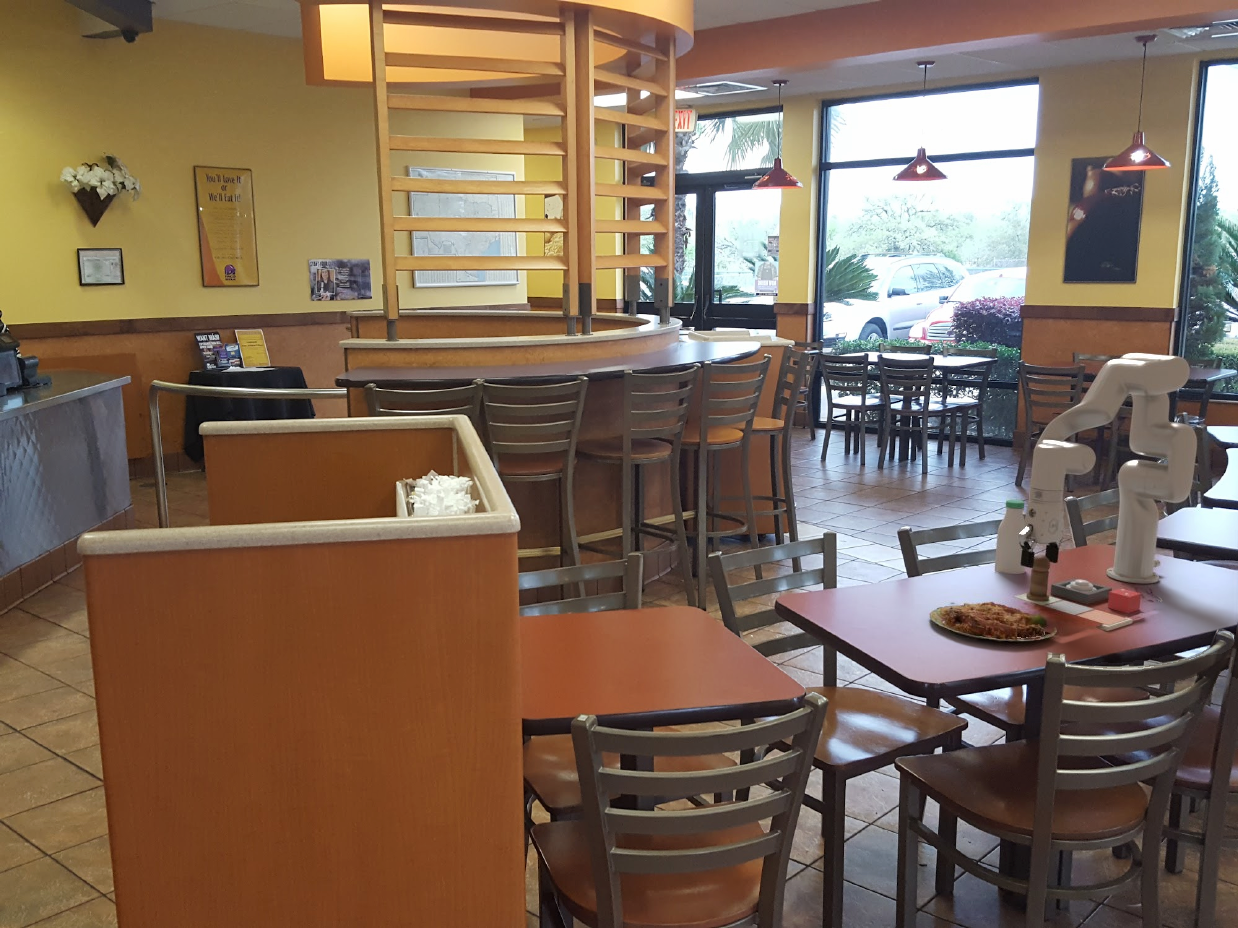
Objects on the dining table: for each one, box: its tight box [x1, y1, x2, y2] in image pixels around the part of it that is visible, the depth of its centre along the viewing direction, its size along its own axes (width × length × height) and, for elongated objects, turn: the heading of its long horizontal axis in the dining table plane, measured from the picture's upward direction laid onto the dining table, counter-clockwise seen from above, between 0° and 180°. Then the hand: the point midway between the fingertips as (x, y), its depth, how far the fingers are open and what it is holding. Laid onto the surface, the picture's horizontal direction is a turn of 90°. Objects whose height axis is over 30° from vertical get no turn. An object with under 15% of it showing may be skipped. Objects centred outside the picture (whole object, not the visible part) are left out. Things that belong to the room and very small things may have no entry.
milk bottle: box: [994, 499, 1026, 575], centre depth 284 cm, size 8×8×20 cm
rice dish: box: [929, 601, 1058, 642], centre depth 242 cm, size 28×28×5 cm
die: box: [1107, 587, 1142, 618], centre depth 253 cm, size 5×5×5 cm
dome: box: [1066, 579, 1097, 593], centre depth 263 cm, size 7×7×3 cm
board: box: [1013, 592, 1134, 632], centre depth 254 cm, size 10×26×1 cm, turn 34°
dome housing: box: [1050, 577, 1113, 605], centre depth 263 cm, size 10×10×4 cm
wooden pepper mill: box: [1026, 555, 1051, 601], centre depth 260 cm, size 5×5×11 cm
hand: (1039, 564), depth 259 cm, fingers open, 9 cm apart
